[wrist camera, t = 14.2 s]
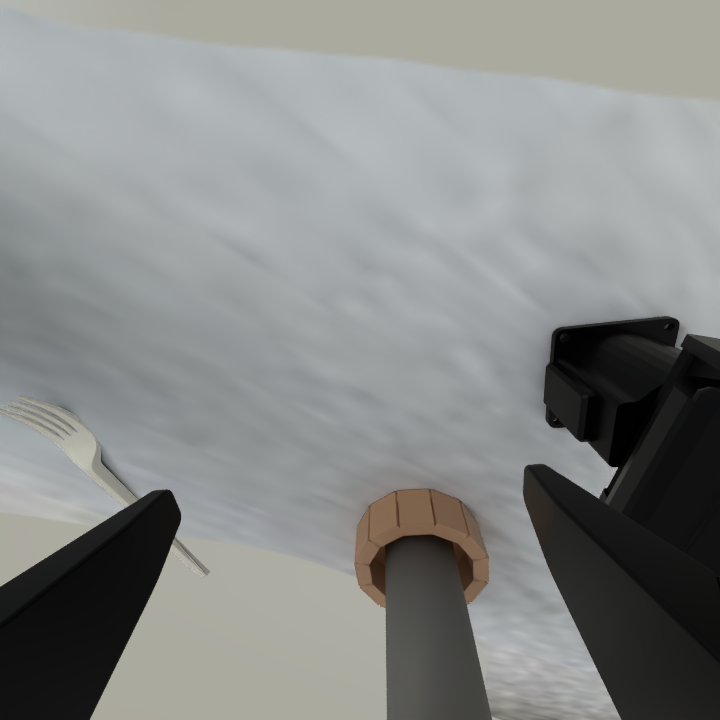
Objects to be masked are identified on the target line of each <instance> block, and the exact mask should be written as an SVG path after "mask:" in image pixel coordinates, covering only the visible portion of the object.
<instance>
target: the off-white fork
mask: <svg viewBox="0 0 720 720" xmlns="http://www.w3.org/2000/svg"><path fill="white" fill-rule="evenodd" d="M18 398H20V399H23V400H25V401H28V402H30V403H33V404H35V405H37V406H39V407H42V408H44V409H46V410H48V411H50V412H52V413H54V414H55V415H54V414H51V413H49V412H47V411H45V410H42V409H39V408H37V407H34V406H31V405H28V404H24V403H21V402H17V401H12V400H11V401H10V403H12V404H15V405H18V406H20V407H23V408H25V409H28V410H30V411H32V412H34V413H32V412H29V411H26V410H23V409H20V408H16V407H13V406H9V405H3V406H2V407H4V408H7V409H9V410H12V411H15V412H18V413H20V414H22V415H25V416H27V417H25V416H22V415H19V414H16V413H13V412H9V411H6V410H2V409H0V413H2V414H5V415H7V416H10V417H12V418H14V419H16V420H18V421H20V422H23V423H25V424H27V425H29V426H30V427H32V428H34V429H36V430H37V431H39V432H40V433H42V434H44V435H45V436H46V437H48V438H49V439H51V440H52V441H53V442H55V443H56V444H57V445H58V446H59V447H60V448H61V449H62V450H63V451H64V452H65V453H66V454H67V455H68V456H69V458H70V459H71V460H72V461H73V462H74V463H75V464H76V465H77V466H78V467H80V468H81V469H82V470H83V471H84V472H86V473H87V474H88V475H89V476H90V477H91V478H92V479H93V480H94V481H95V482H96V483H98V484H99V485H100V486H101V487H102V488H103V489H104V490H105V491H106V492H107V493H108V494H110V495H111V496H112V497H113V498H114V499H115V500H116V501H117V502H118V503H119V504H120V505H122V506H123V507H124V508H126V507H128V506H129V505H131V504H133V503H134V502H136V501H137V500H138V499H137V498H136V497H135V496H134V495H133V494H132V493H131V492H130V491H129V490H128V489H127V488H126V487H125V486H124V485H123V484H122V483H121V482H120V481H119V480H118V479H117V478H116V477H115V476H114V475H113V474H112V473H111V472H110V471H109V470H108V469H107V468H106V467H105V466H104V465H103V464H102V462H101V447H100V444H99V443H98V441H97V440H96V438H95V437H94V436H93V435H92V434H91V433H90V431H89V430H88V429H87V428H86V427H85V425H84V424H83V423H82V422H81V421H80V420H79V419H78V418H77V417H76V416H75V415H74V414H73V413H71V412H69V411H67V410H64V409H62V408H60V407H57V406H55V405H52V404H49V403H46V402H43V401H40V400H36V399H32V398H28V397H24V396H18ZM35 413H37V414H39V415H37V414H35ZM40 415H41V416H40ZM56 415H57V416H56ZM42 416H43V417H42ZM58 416H59V417H58ZM28 417H29V418H28ZM44 417H45V418H44ZM31 418H32V419H31ZM33 419H34V420H33ZM35 420H36V421H35ZM67 422H68V423H69V424H70V425H72V426H73V427H74V428H76V429H77V430H78V432H76V431H75V430H74V429H73V428H72V427H71V426H70V425H69V424H68V423H67ZM61 427H62V428H63V429H65V430H66V431H68V432H69V433H70V434H71V436H70V435H68V434H67V433H66V432H65V431H64V430H63V429H62V428H61ZM56 432H57V433H58V434H60V435H61V436H63V437H64V439H62V438H61V437H60V436H59V435H58V434H57V433H56ZM170 550H171V551H172V552H173V553H174V554H175V555H176V556H177V557H178V558H179V559H181V560H182V561H183V562H184V563H185V564H186V565H187V566H188V567H189V568H190V569H192V570H193V571H194V572H195V573H196V574H197V575H198V576H199V577H200V578H202V577H205V576H207V575H208V574H209V572H210V571H209V570H208V569H207V568H206V567H205V566H204V565H203V564H202V563H201V562H200V561H199V560H198V559H197V558H196V557H195V556H194V555H193V554H192V553H191V552H190V551H189V550H188V549H187V548H186V547H185V546H184V545H183V544H182V543H181V542H180V541H179V540H178V539H177V538H176V537H175V538H174V540H173V543H172V545H171V548H170Z"/></svg>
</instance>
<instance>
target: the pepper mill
mask: <svg viewBox="0 0 720 720" xmlns="http://www.w3.org/2000/svg"><path fill="white" fill-rule="evenodd" d="M385 584H386V669H387V720H492V717H491V713H490V708H489V704H488V699H487V694H486V690H485V685H484V681H483V676H482V672H481V667H480V663H479V658H478V655H477V650H476V645H475V640H474V636H473V631H472V627H471V622H470V618H469V613H468V609H467V604H466V600H465V595H464V591H463V586H462V582H461V577H460V573H459V568H458V564H457V559H456V555H455V550H454V546H453V542H452V541H450V540H447V539H444V538H441V537H439V536H436V535H433V534H428V535H408V536H402V537H400V538H398V539H396V540H394V541H392V542H390V543H388V544H386V545H385Z"/></svg>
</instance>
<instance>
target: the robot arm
mask: <svg viewBox="0 0 720 720" xmlns="http://www.w3.org/2000/svg"><path fill="white" fill-rule="evenodd" d="M667 323H669V325H668V327H667V328H666V329H664V327H665V325H666V324H667ZM678 330H679V321H678V320H677V319H675V318H672V317H668V316H664V317H654V318H645V319H635V320H625V321H616V322H606V323H596V324H587V325H577V326H567V327H560V328H558V329H556V330H555V331H554V332H553V334H552V341H551V354H550V363H549V364H548V365H547V366H546V375H545V389H544V403H545V404H546V422H547V423H548V424H549V425H550V426H551V427H553V428H563V427H566V428H567V429H568V430H569V431H570V432H571V433H572V435H573V436H574V437H575V438H576V439H577V440H579V441H580V442H588V443H589V444H590V445H591V446H592V447H593V449H594V450H595V451H596V452H597V453H598V454H599V455H600V456H601V457H602V458H603V459H604V460H605V461H606V462H607V464H608V465H609V466H611V467H618V469H617V471H616V473H615V475H614V477H613V479H612V480H611V482H610V484H609V486H608V488H605V489H604V490H603V492H602V494H601V495H600V499H598V498H597V497H595V496H594V495H592V494H591V493H589V492H587V491H586V490H584V489H583V488H581V487H580V486H578V485H576V484H575V483H573V482H572V481H570V480H569V479H567V478H565V477H564V476H562V475H561V474H559V473H557V472H556V471H554V470H553V469H551V468H550V467H548V466H546V465H544V464H533V465H527V466H526V467H525V469H524V484H523V496H524V501H525V504H526V507H527V510H528V512H529V515H530V518H531V521H532V524H533V526H534V529H535V532H536V535H537V537H538V540H539V543H540V546H541V549H542V551H543V554H544V557H545V559H546V562H547V565H548V567H549V569H550V572H551V574H552V576H553V578H554V580H555V582H556V585H557V587H558V589H559V591H560V593H561V595H562V597H563V599H564V601H565V603H566V605H567V607H568V609H569V612H570V614H571V616H572V618H573V620H574V622H575V624H576V626H577V628H578V630H579V632H580V634H581V637H582V639H583V641H584V643H585V645H586V647H587V649H588V651H589V653H590V655H591V657H592V659H593V661H594V664H595V666H596V668H597V670H598V672H599V674H600V676H601V678H602V680H603V682H604V684H605V686H606V688H607V691H608V693H609V695H610V697H611V699H612V701H613V703H614V705H615V707H616V709H617V711H618V713H619V715H620V718H621V720H720V339H717V338H711V337H705V336H699V335H693V334H687V335H686V337H685V338H684V340H683V342H682V344H681V347H682V348H683V349H682V350H680V349H678V348H675V344H676V339H677V335H678ZM564 333H565V334H566V335H565V337H564V338H563V339H561V340H560V336H561V335H562V334H564ZM555 418H558V419H557V420H556V421H553V419H555ZM180 522H181V512H180V509H179V507H178V505H177V502H176V500H175V497H174V495H173V493H172V492H171V491H170V490H167V489H166V490H155V491H152V492H150V493H149V494H147V495H145V496H144V497H142V498H141V499H139V500H137V501H136V502H134V503H133V504H131V505H129V506H128V507H126V508H125V509H123V510H122V511H120V512H118V513H117V514H115V515H114V516H112V517H110V518H109V519H107V520H106V521H104V522H102V523H101V524H99V525H98V526H96V527H95V528H93V529H91V530H90V531H88V532H87V533H85V534H83V535H82V536H80V537H79V538H77V539H76V540H74V541H72V542H71V543H69V544H67V545H66V546H64V547H63V548H61V549H60V550H58V551H56V552H55V553H53V554H52V555H50V556H48V557H47V558H45V559H44V560H42V561H41V562H39V563H37V564H36V565H34V566H33V567H31V568H29V569H28V570H26V571H25V572H23V573H21V574H20V575H18V576H17V577H15V578H13V579H12V580H10V581H9V582H7V583H6V584H4V585H3V586H1V587H0V720H90V718H91V716H92V714H93V712H94V710H95V708H96V706H97V704H98V702H99V700H100V698H101V696H102V694H103V692H104V689H105V687H106V685H107V683H108V681H109V679H110V677H111V675H112V673H113V671H114V669H115V667H116V665H117V663H118V661H119V659H120V657H121V655H122V653H123V651H124V649H125V647H126V645H127V643H128V641H129V639H130V637H131V635H132V632H133V630H134V628H135V626H136V624H137V622H138V620H139V618H140V616H141V614H142V612H143V610H144V608H145V606H146V604H147V602H148V600H149V598H150V596H151V594H152V591H153V589H154V587H155V585H156V583H157V581H158V578H159V576H160V573H161V571H162V568H163V566H164V563H165V561H166V558H167V556H168V553H169V550H170V548H171V545H172V543H173V540H174V538H175V535H176V532H177V530H178V527H179V525H180Z"/></svg>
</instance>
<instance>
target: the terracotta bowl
mask: <svg viewBox="0 0 720 720" xmlns="http://www.w3.org/2000/svg"><path fill="white" fill-rule="evenodd" d="M428 534H433V535H436V536H439V537H441V538H444V539H447V540H450V541H452V542H453V546H454V550H455V555H456V559H457V564H458V568H459V573H460V577H461V582H462V586H463V591H464V595H465V600H466V604H467V605H468V604H470V603H469V601H470V602H472V601H473V600H474V599H475V598H476V597H477V595H478V594H479V593H480V592H481V591H482V589H483V588H484V587H485V586H486V585H487V584H488V583H487V581H489V558H488V555H487V552H486V548H485V545H484V542H483V539H482V536H481V533H480V530H479V526H478V523H477V521H476V519H475V518H474V517H473V515H472V514H471V513H470V512H469V511H468V509H467V508H466V507H465V506H464V504H463V503H462V502H461V501H459V499H456V498H453V497H451V496H448V495H445V494H443V493H440V492H437V491H435V490H432V489H431V490H428V489H416V490H400V491H398V492H393V493H391V494H389V495H387V496H385V497H384V498H382V499H380V500H378V501H376V502H374V503H373V504H371V507H370V506H369V507H368V509H367V510H366V512H365V514H364V516H363V517H362V519H361V521H360V523H359V525H358V528H357V538H356V551H355V569H356V574H357V579H358V585H359V586H360V588H361V589H362V590H363V591H364V592H365V593H366V594H367V595H368V596H369V597H370V598H372V600H373V601H374V602H376V603H377V604H378V605H379V604H380V606H381V607H384V608H386V584H385V545H386V544H388V543H390V542H392V541H394V540H396V539H398V538H400V537H402V536H408V535H428Z"/></svg>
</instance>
